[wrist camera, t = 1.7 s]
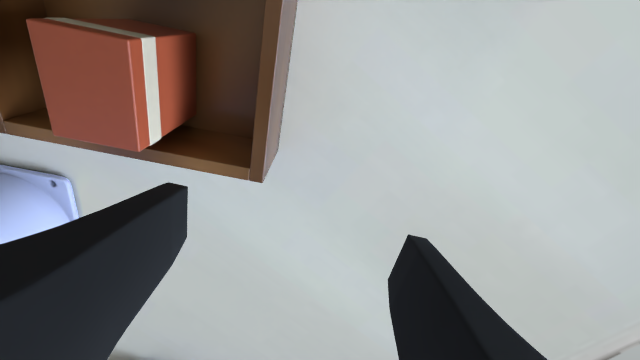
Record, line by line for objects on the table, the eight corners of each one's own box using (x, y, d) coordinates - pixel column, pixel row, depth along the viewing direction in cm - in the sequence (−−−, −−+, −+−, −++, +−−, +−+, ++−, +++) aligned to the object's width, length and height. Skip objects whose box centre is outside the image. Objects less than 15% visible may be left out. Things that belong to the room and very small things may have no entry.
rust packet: (134, 102, 18) (51, 136, 13) (126, 17, 16) (23, 17, 11) (197, 115, 18) (140, 153, 13) (196, 32, 16) (128, 38, 11)
